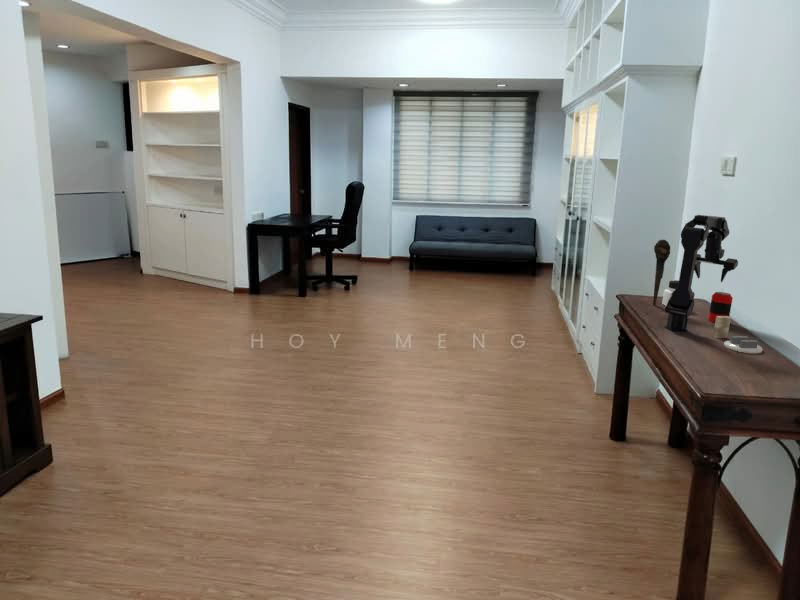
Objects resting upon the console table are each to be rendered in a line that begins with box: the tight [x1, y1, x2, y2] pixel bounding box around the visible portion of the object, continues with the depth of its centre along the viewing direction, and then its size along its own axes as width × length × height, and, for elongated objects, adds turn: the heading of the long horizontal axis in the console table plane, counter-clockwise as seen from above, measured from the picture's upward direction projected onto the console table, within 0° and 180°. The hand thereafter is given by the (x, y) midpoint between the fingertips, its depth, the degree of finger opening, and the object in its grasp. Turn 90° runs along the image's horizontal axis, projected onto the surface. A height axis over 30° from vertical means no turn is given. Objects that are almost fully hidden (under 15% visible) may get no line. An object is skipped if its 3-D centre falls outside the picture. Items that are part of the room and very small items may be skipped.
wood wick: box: [712, 316, 732, 339], centre depth 227 cm, size 4×2×8 cm, turn 97°
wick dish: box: [723, 335, 763, 354], centre depth 215 cm, size 12×12×4 cm
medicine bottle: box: [661, 279, 679, 307], centre depth 272 cm, size 7×7×12 cm
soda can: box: [707, 291, 733, 324], centre depth 249 cm, size 8×8×12 cm
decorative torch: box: [652, 239, 671, 306], centre depth 270 cm, size 7×7×30 cm
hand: (710, 279), depth 257 cm, fingers open, 9 cm apart
